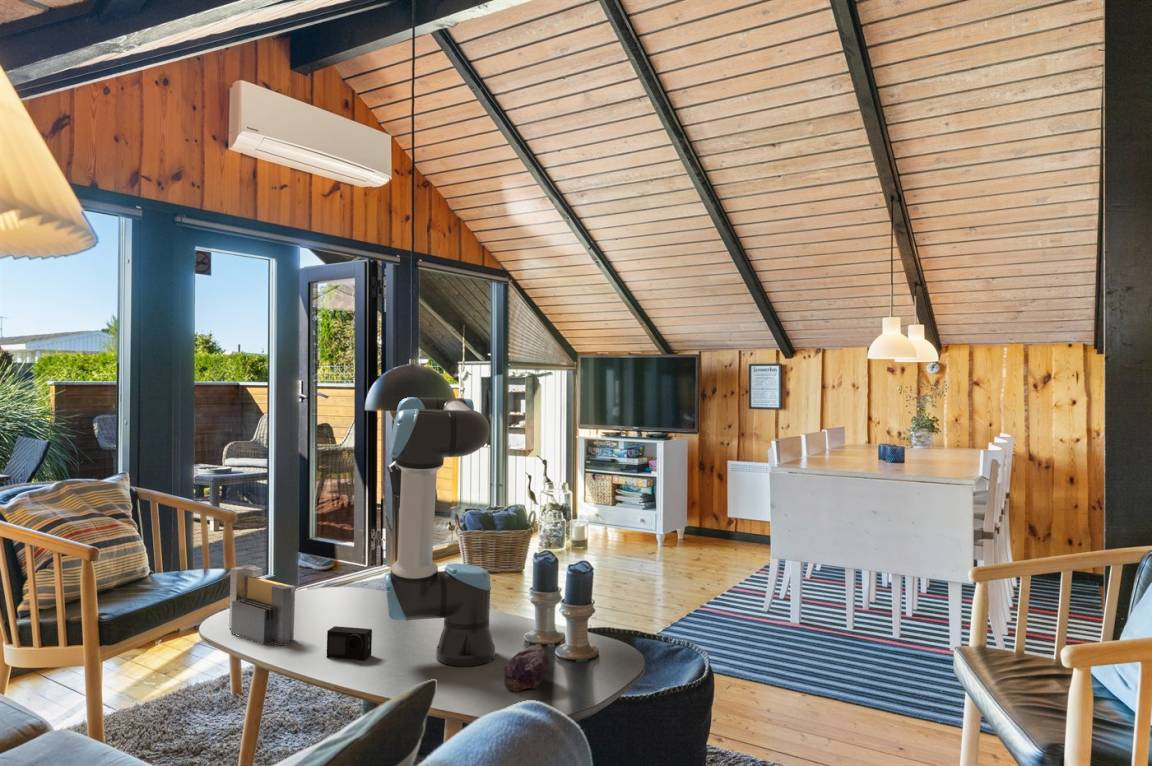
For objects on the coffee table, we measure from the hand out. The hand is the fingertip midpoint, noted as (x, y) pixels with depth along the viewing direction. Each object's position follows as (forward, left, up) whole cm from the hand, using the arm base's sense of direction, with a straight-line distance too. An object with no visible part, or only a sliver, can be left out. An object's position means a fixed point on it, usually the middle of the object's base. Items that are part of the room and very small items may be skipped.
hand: (404, 518), depth 240 cm
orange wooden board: (+14, +35, -29) cm, 48 cm away
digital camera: (-17, +34, -30) cm, 48 cm away
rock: (-65, +21, -30) cm, 75 cm away
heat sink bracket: (+16, +37, -29) cm, 50 cm away
